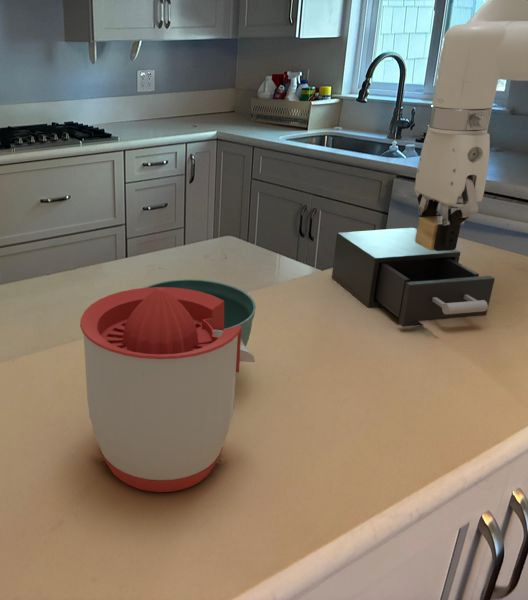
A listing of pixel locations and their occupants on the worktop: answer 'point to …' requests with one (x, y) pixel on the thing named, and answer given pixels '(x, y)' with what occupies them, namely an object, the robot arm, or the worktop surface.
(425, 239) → the block
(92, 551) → the worktop surface
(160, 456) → the citrus juicer
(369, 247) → the grey drawer box
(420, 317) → the mini dresser drawer
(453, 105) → the robot arm
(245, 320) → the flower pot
